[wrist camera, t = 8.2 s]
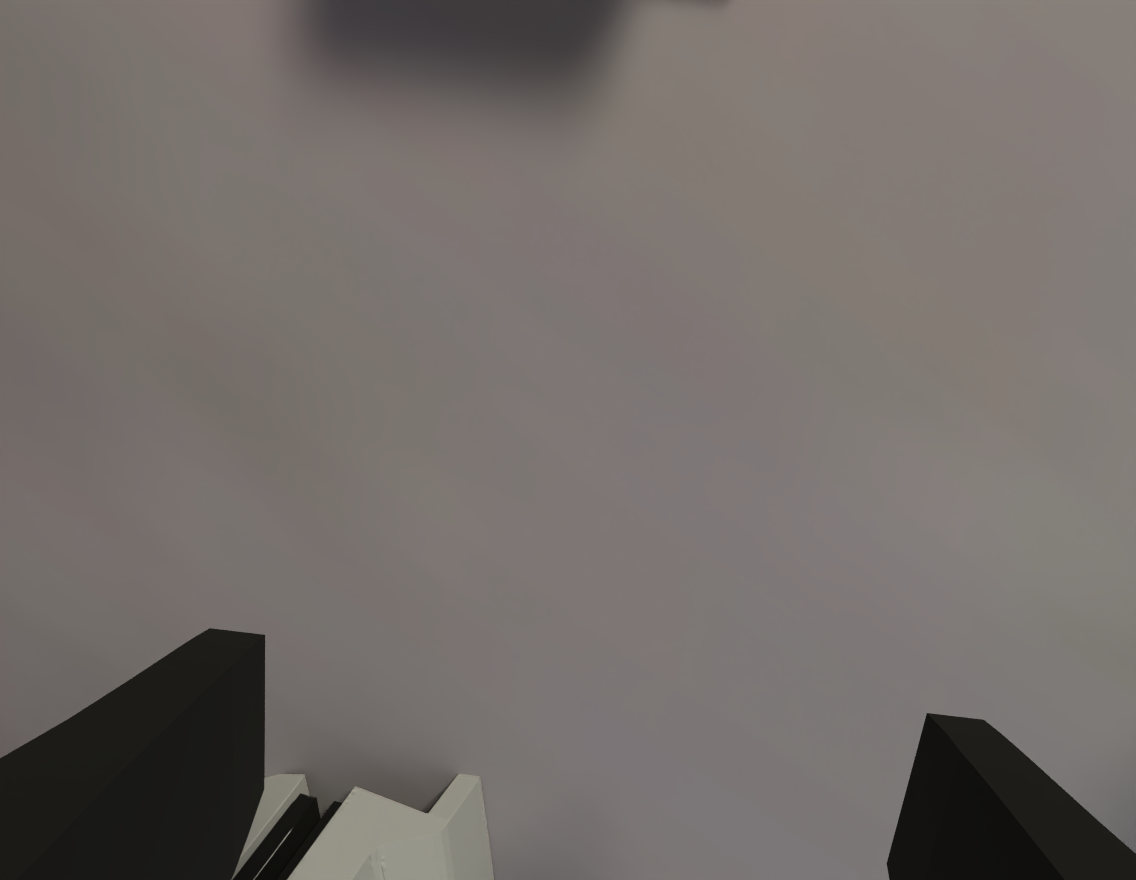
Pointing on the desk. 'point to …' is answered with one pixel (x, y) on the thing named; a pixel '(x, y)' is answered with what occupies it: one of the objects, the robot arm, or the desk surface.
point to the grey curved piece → (366, 836)
